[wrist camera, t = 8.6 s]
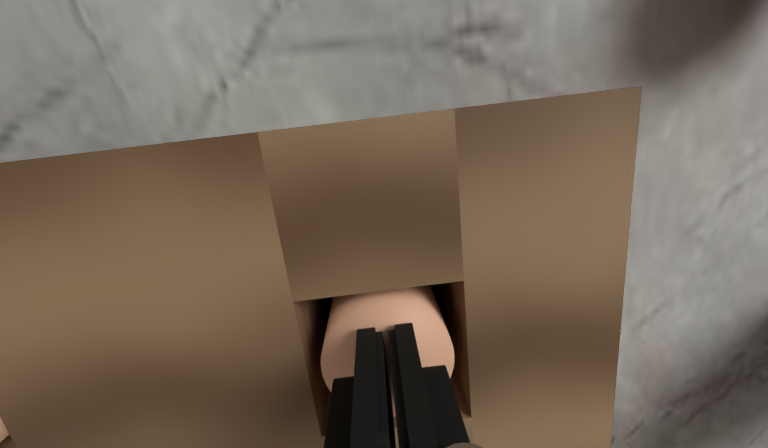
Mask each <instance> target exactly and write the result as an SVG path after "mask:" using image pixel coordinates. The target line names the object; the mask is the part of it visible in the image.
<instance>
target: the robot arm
mask: <svg viewBox="0 0 768 448" xmlns="http://www.w3.org/2000/svg"><path fill="white" fill-rule="evenodd" d="M388 336H389V347H390V358H391V369H392V380H393V391H394V402H395V413H396V424H397V434H398V443H399V448H483V447H481V446H479V445H476V444H471V443H470V441H469V437H468V434H467V431H466V428H465V425H464V422H463V418H462V415H461V412H460V409H459V406H458V403H457V399H456V396H455V393H454V390H453V387H452V384H451V380H450V377H449V374H448V371H447V368H446V366H445V365H438V366H430V367H422V366H421V361H420V356H419V352H418V347H417V342H416V338H415V333H414V328H413V324H412V323H404V324H396V325H395V330H388ZM324 448H396V441H395V429H394V417H393V407H392V399H391V392H390V384H389V376H388V369H387V361H386V354H385V346H384V339H383V332H382V331H379V332H376V330H375V327H371V328H363V329H357V334H356V351H355V368H354V376H350V377H342V378H334V380H333V384H332V391H331V398H330V405H329V412H328V419H327V427H326V434H325V441H324Z"/></svg>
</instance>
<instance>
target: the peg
mask: <svg viewBox="0 0 768 448" xmlns="http://www.w3.org/2000/svg"><path fill="white" fill-rule="evenodd" d="M404 323H412V324H413V328H414V333H415V338H416V342H417V347H418V352H419V356H420V361H421V366H422V367H430V366H438V365H445V366H446V368H447V371H448V374H449V377H450V378H451V375H452V372H453V368H454V348H453V345H452V341H451V338H450V336H449V333H448V330H447V328H446V325H445V323H444V320H443V317H442V315H441V312H440V309H439V307H438V304H437V301H436V299H435V296H434V293H433V291H432V288H431V285H426V286H418V287H410V288H402V289H393V290H385V291H377V292H369V293H361V294H353V295H345V296H337V297H333V299H332V304H331V309H330V314H329V319H328V324H327V329H326V334H325V339H324V343H323V348H322V354H321V371H322V375H323V379H324V381H325V383H326V385H327V387H328V389H329V390H330V392H331V391H332V384H333V380H334V378H342V377H350V376H354V368H355V351H356V334H357V329H363V328H371V327H375V330H376V332H379V331H382V332H383V339H384V346H385V354H386V361H387V369H388V376H389V384H390V392H391V399H392V407H393V417H395V416H396V413H395V402H394V391H393V380H392V369H391V358H390V347H389V336H388V330H395V325H396V324H404Z"/></svg>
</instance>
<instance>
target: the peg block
mask: <svg viewBox="0 0 768 448" xmlns="http://www.w3.org/2000/svg"><path fill="white" fill-rule="evenodd" d="M641 89H642V86H641V87H632V88H624V89H615V90H607V91H599V92H590V93H582V94H574V95H565V96H557V97H548V98H540V99H532V100H523V101H515V102H507V103H498V104H490V105H482V106H473V107H465V108H456V109H448V110H440V111H431V112H423V113H415V114H406V115H398V116H390V117H381V118H373V119H364V120H356V121H348V122H339V123H331V124H323V125H314V126H306V127H297V128H289V129H281V130H272V131H264V132H256V133H247V134H239V135H231V136H222V137H214V138H205V139H197V140H189V141H180V142H172V143H164V144H155V145H147V146H139V147H130V148H122V149H113V150H105V151H97V152H88V153H80V154H72V155H63V156H55V157H46V158H38V159H30V160H21V161H13V162H5V163H0V417H1V419H2V421H3V423H4V425H5V427H6V429H7V431H8V432H9V435H8V436H7V437H6V438H5V439H4V440H2V441H1V442H0V448H324V441H325V434H326V427H327V419H328V412H329V405H330V398H331V392H330V390H329V389H328V387H327V385H326V383H325V381H324V379H323V375H322V371H321V354H322V348H323V343H324V339H325V334H326V329H327V324H328V319H329V314H330V309H331V304H332V299H333V297H337V296H345V295H353V294H361V293H369V292H377V291H385V290H393V289H402V288H410V287H418V286H426V285H431V288H432V291H433V293H434V296H435V299H436V301H437V304H438V307H439V309H440V312H441V315H442V317H443V320H444V323H445V325H446V328H447V330H448V333H449V336H450V338H451V341H452V345H453V348H454V368H453V372H452V375H451V378H450V380H451V384H452V387H453V390H454V393H455V396H456V399H457V403H458V406H459V409H460V412H461V415H462V418H463V422H464V425H465V428H466V431H467V434H468V437H469V441H470V443H471V444H476V445H479V446H481V447H483V448H610V444H611V433H612V421H613V410H614V398H615V387H616V375H617V364H618V352H619V341H620V329H621V318H622V306H623V295H624V284H625V272H626V261H627V249H628V238H629V226H630V215H631V203H632V192H633V180H634V169H635V157H636V146H637V134H638V123H639V111H640V100H641ZM394 429H395V441H396V448H399V443H398V434H397V424H396V416H395V417H394Z"/></svg>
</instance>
